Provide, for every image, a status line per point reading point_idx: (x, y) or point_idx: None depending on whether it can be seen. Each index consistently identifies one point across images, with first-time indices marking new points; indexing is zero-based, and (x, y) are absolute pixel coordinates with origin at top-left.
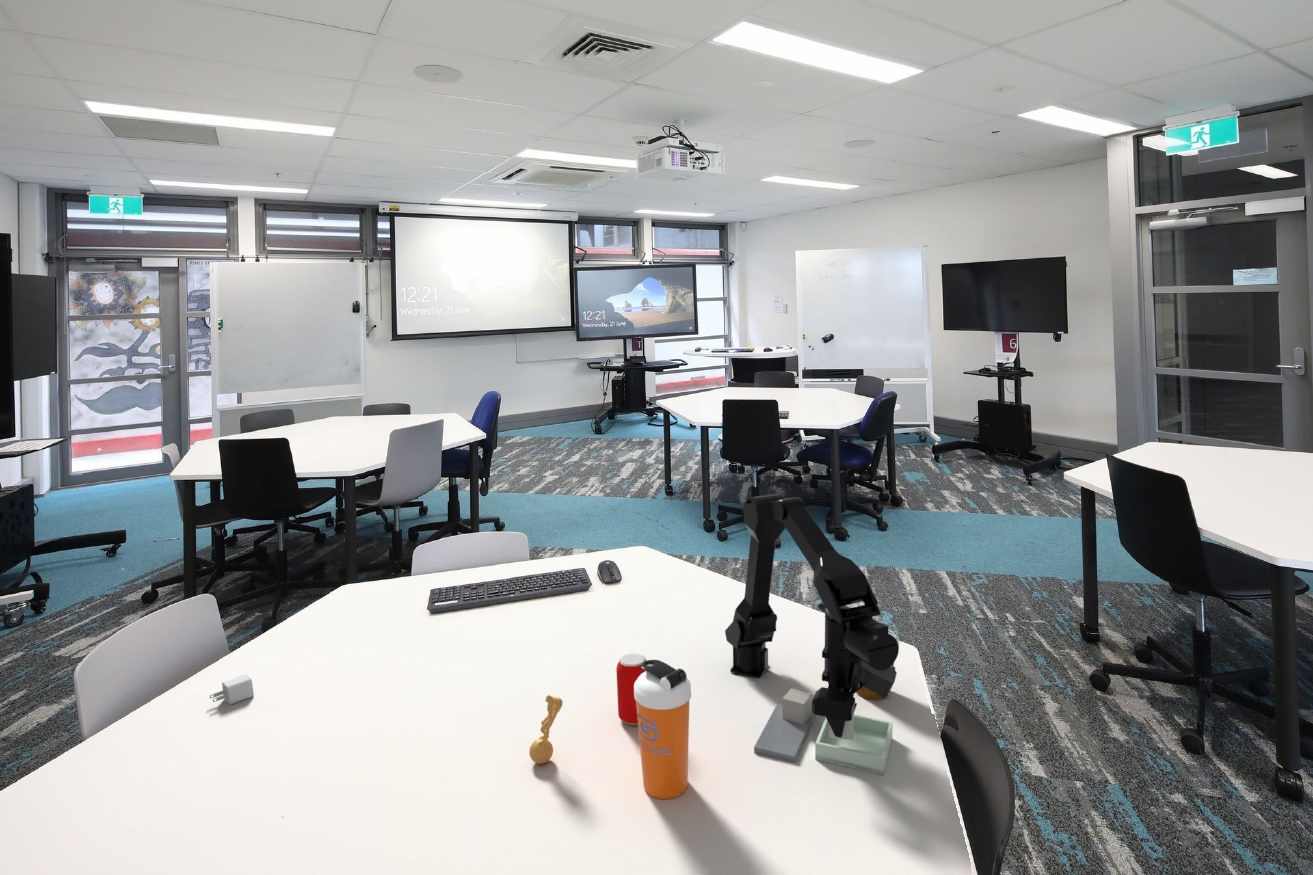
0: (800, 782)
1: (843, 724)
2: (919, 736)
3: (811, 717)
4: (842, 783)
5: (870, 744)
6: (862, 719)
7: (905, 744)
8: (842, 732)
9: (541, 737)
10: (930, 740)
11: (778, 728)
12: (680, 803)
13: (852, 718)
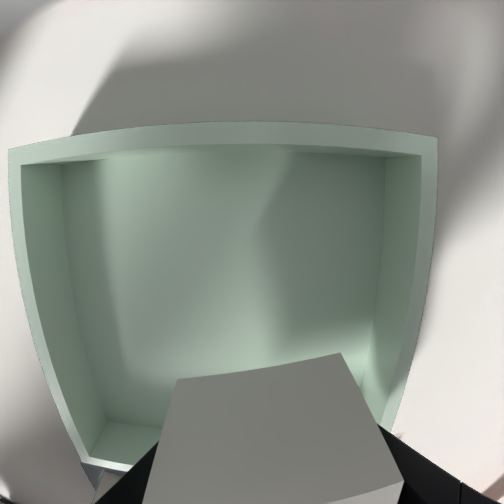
0: (467, 405)
1: (451, 478)
2: (24, 57)
3: (123, 472)
4: (469, 300)
5: (184, 240)
6: (48, 323)
7: (89, 84)
8: (397, 438)
9: None
10: (42, 16)
11: None
12: (493, 494)
13: (400, 482)
